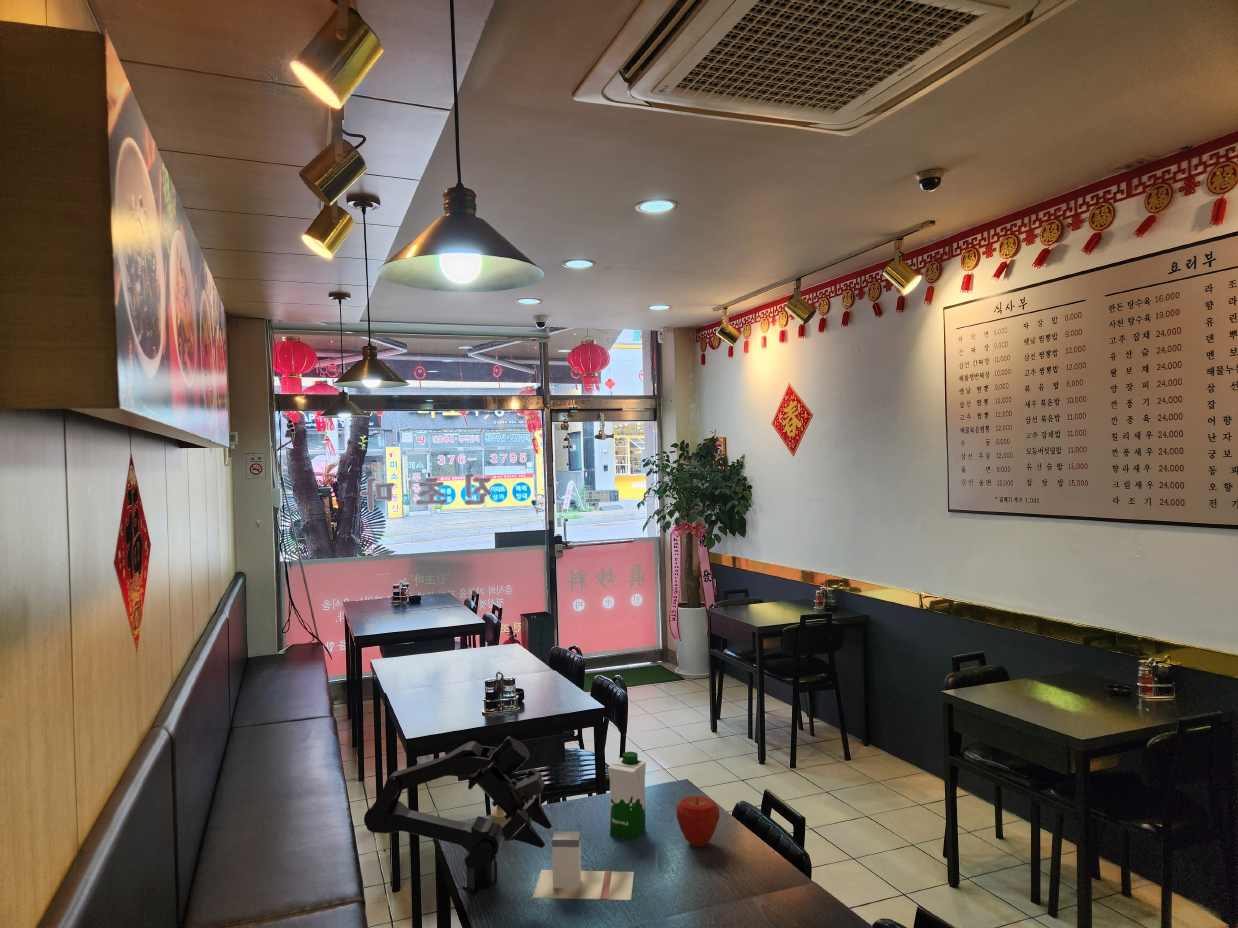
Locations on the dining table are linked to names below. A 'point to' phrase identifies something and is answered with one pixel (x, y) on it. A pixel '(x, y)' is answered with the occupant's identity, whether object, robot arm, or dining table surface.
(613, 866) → the dining table surface
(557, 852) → the white slab
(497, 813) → the hand bell
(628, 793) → the milk carton
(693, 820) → the apple
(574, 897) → the board
